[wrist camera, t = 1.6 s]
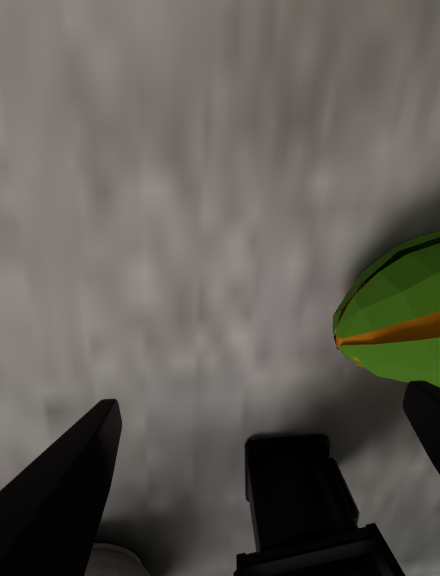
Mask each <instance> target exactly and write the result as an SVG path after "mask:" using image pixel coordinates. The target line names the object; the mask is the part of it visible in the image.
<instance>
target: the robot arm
mask: <svg viewBox="0 0 440 576" xmlns="http://www.w3.org/2000/svg"><path fill="white" fill-rule="evenodd" d="M403 409H404V412H405V414H406V416H407V417H408V419H409V421H410V423H411V425H412V427H413V429H414V430H415V432H416V434H417V436H418V438H419V440H420V442H421V443H422V445H423V447H424V449H425V451H426V453H427V454H428V456H429V458H430V460H431V461H432V463H433V465H434V466H435V468H436V470H437V471H438V473H439V474H440V387H437V386H435V385H433V384H431V383H429V382H427V381H424V380H417V381H410V382H409V383H408V384H407V387H406V391H405V395H404V399H403ZM121 429H122V419H121V414H120V409H119V404H118V401H117V400H116V399H103V400H101V401H99V402H98V403H97V404H96V405H95V406H94V407H93V408H92V409H91V410H89V411H88V412H87V413H86V414H85V415H84V416H83V417H82V418H81V419H79V420H78V421H77V422H76V423H75V424H74V425H73V426H72V427H71V428H69V429H68V430H67V431H66V432H65V433H64V434H63V435H62V436H61V437H59V438H58V439H57V440H56V441H55V442H54V443H53V444H52V445H51V446H49V447H48V448H47V449H46V450H45V451H44V452H43V453H42V454H41V455H39V456H38V457H37V458H36V459H35V460H34V461H33V462H32V463H31V464H29V465H28V466H27V467H26V468H25V469H24V470H23V471H22V472H21V473H19V474H18V475H17V476H16V477H15V478H14V479H13V480H12V481H11V482H9V483H8V484H7V485H6V486H5V487H4V488H3V489H2V490H1V491H0V576H84V575H85V572H86V568H87V565H88V562H89V558H90V555H91V551H92V548H93V545H94V541H95V538H96V535H97V531H98V528H99V524H100V521H101V518H102V514H103V511H104V508H105V504H106V501H107V498H108V494H109V490H110V487H111V482H112V477H113V472H114V467H115V461H116V456H117V451H118V446H119V440H120V435H121ZM251 447H252V448H251ZM329 450H330V441H329V439H328V437H327V436H326V435H315V436H302V437H288V438H275V439H262V440H250V441H248V442H246V443H245V495H246V500H247V501H248V502H250V510H251V517H252V524H253V531H254V538H255V545H256V552H254V553H250V554H245V553H241V554H237V556H236V559H237V570H236V571H235V572H234V573H233V575H234V576H405V574H404V573H403V571H402V569H401V567H400V566H399V564H398V562H397V560H396V559H395V557H394V555H393V554H392V552H391V550H390V548H389V547H388V545H387V543H386V541H385V540H384V538H383V536H382V534H381V533H380V531H379V529H378V528H377V526H376V524H375V523H372V524H367V525H366V527H363V528H358V526H357V523H358V518H359V511H358V508H357V506H356V504H355V502H354V500H353V498H352V495H351V493H350V491H349V489H348V487H347V484H346V482H345V480H344V478H343V476H342V473H341V471H340V469H339V467H338V465H337V462H336V461H335V460H334V459H333V458H328V457H329Z"/></svg>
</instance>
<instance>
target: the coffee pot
mask: <svg viewBox="0 0 440 576" xmlns="http://www.w3.org/2000/svg"><path fill="white" fill-rule="evenodd" d="M84 576H150V574H149V573H148V571H147V570H146V569H145V568H144V567H143V565H142V563H141V560H140V559H139V558H138V557H137V555H136V554H134V553H133V552H131V551H130V550H128V549H126V548H123V547H120V546H118V545H112V544H106V543H94V545H93V548H92V551H91V555H90V558H89V562H88V565H87V568H86V572H85V575H84Z"/></svg>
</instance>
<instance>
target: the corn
mask: <svg viewBox="0 0 440 576" xmlns="http://www.w3.org/2000/svg"><path fill="white" fill-rule="evenodd" d="M398 259H399V260H398ZM395 260H397V261H395ZM392 261H395V262H394V263H392V264H391V265H389V266H387V267H386V268H384V269H383V270H381V271H379V272H378V273H377V274H376V275H375V276H374V277H373V278H372V279H370V280H368V281H367V282H366V283H365V284H364V285H363V286H362V287H361V288H360V289H359V290H358V291H357V293H356V294H355V295H354V296H353V297H352V298H351V296H352V295H353V294H354V292H355V291H356V290H357V288H358V287H359V286H360V284H361V283H363V282H364V281H365V280H366V279H367V278H368V277H369V276H371V275H372V274H373V273H374V272H375V271H376V270H377V269H379V268H380V267H381V266H382V265H384V264H387V263H389V262H392ZM350 298H351V299H350ZM349 299H350V300H349ZM335 330H336V334H335ZM333 334H334V339H335V343H336V346H337V349H338V350H340V351H341V352H342V353H343V355H344V356H345V357H347V358H348V359H350V360H352V361H353V362H354V363H355V364H356V365H357V366H359V367H363V368H365V369H367V370H368V371H370V372H372V373H373V374H375V375H377V376H379V377H384V378H388V379H393V380H398V381H402V382H407V383H409V382H410V381H417V380H424V381H427V382H429V383H431V384H433V385H435V386H437V387H440V231H436V232H432V233H428V234H425V235H421V236H417V237H415V238H413V239H411V240H408V241H406V242H404V243H402V244H400V245H398V246H396V247H395V248H393V249H392V250H390V251H389V252H388V253H386V254H385V255H384V256H382V257H381V258H380V259H378V260H377V261H376V262H374V263H373V264H371V265H370V266H369V267H367V268H366V269H365V270H364V271H363V272H362V273H361V274H360V276H359V277H358V278H357V280H356V281H355V283H354V284H353V286H352V287H351V288H350V290H349V291H348V293H347V294H346V296H345V298H344V299H343V301H342V302H341V304H340V306H339V307H338V309H337V310H336V312H335V314H334V315H333Z"/></svg>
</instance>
